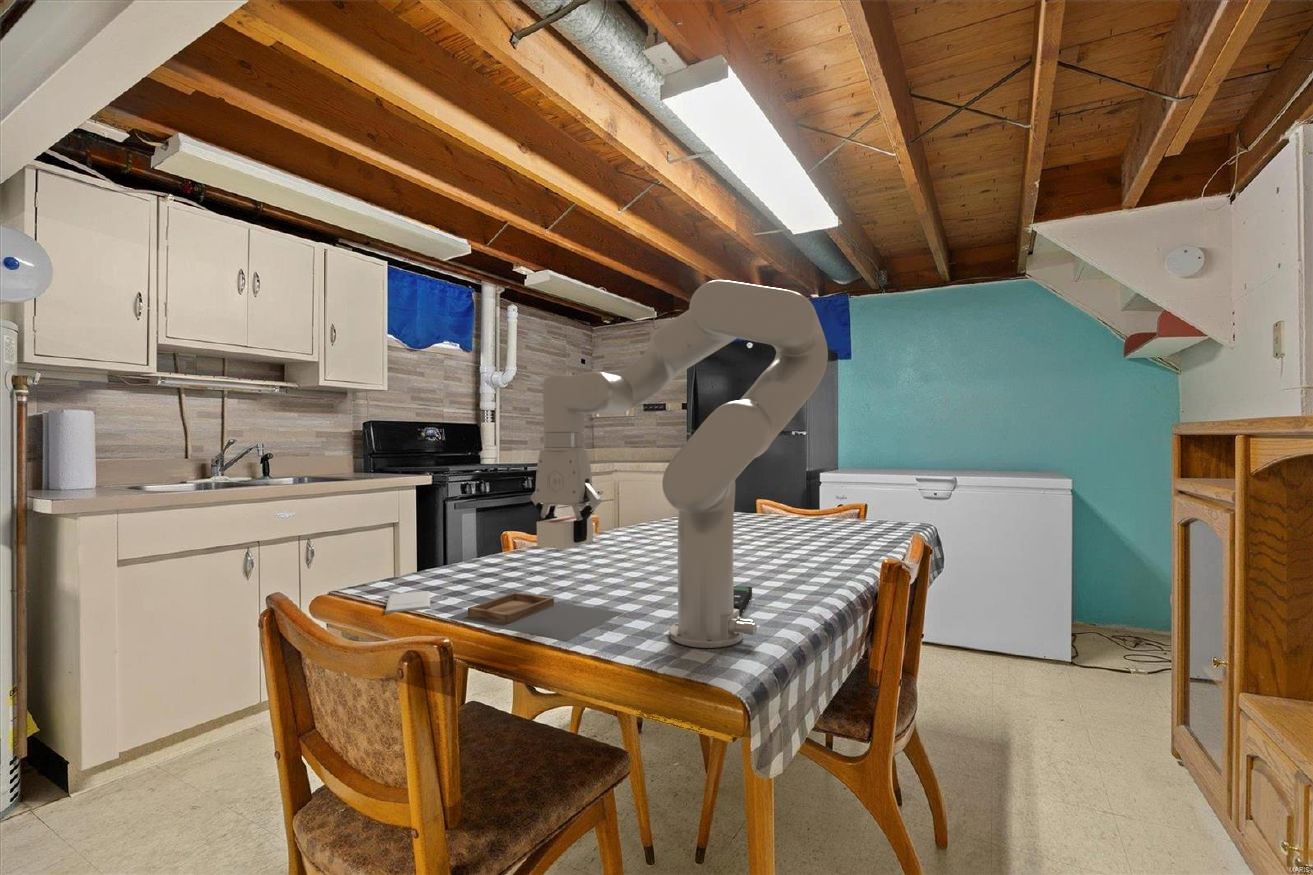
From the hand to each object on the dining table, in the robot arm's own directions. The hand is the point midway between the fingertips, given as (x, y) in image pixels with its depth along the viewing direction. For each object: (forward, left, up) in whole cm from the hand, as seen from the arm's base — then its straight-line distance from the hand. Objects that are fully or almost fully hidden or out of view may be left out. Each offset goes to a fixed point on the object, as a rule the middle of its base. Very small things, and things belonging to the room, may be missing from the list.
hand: (565, 539), depth 112 cm
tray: (+13, 0, -15) cm, 20 cm away
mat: (+7, 0, -15) cm, 17 cm away
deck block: (0, 0, -1) cm, 1 cm away
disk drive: (-21, -25, -16) cm, 36 cm away
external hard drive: (+36, +5, -16) cm, 40 cm away
